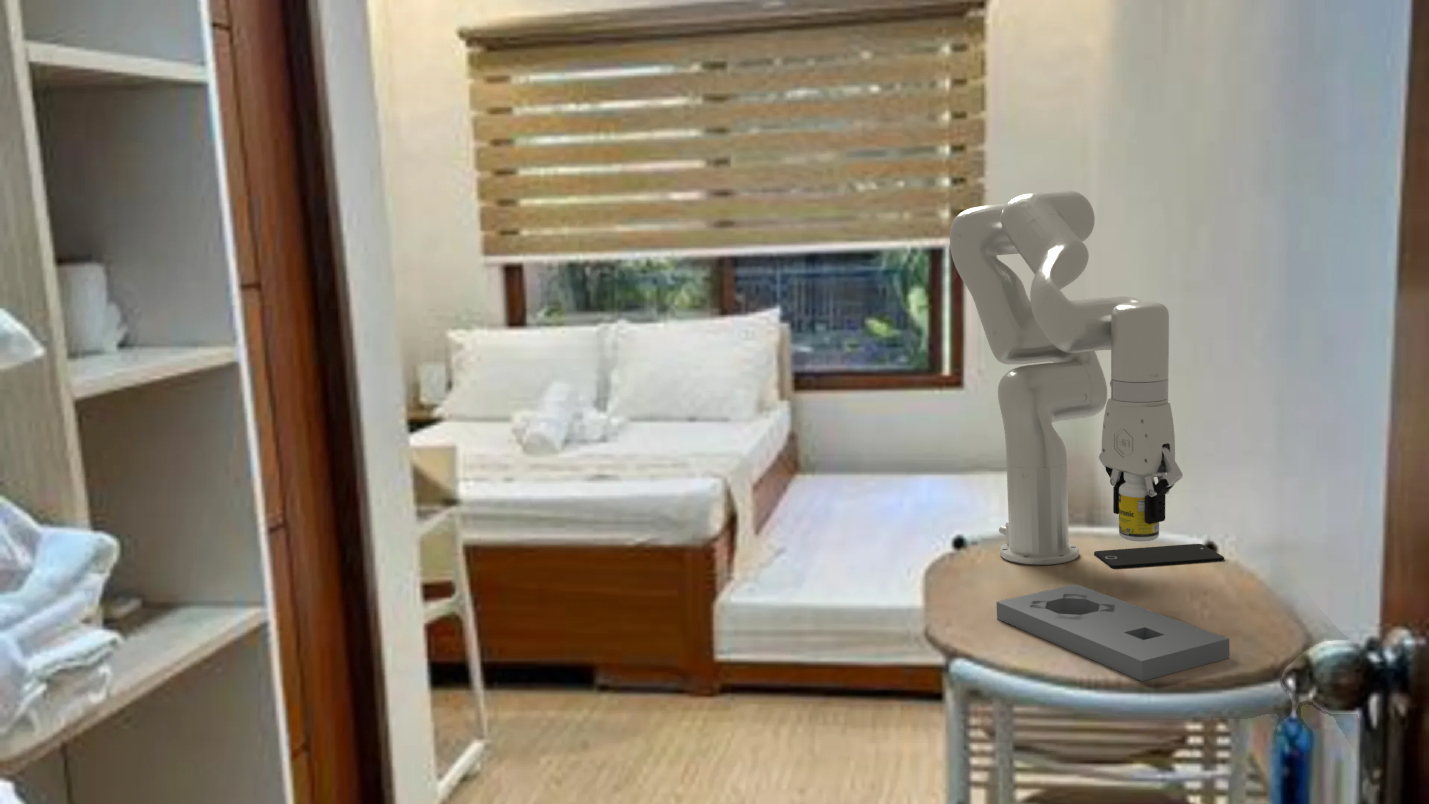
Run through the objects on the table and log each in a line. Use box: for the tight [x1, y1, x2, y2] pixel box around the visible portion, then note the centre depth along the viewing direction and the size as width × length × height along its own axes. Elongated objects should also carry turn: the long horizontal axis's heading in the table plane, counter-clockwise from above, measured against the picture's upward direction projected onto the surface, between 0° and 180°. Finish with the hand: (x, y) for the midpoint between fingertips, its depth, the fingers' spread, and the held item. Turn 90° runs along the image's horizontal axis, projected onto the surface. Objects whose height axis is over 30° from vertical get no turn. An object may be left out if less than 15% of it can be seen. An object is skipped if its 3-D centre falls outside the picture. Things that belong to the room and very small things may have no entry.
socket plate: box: [996, 584, 1230, 682], centre depth 158 cm, size 28×14×2 cm, turn 24°
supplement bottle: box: [1118, 472, 1160, 542], centre depth 170 cm, size 5×5×10 cm
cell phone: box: [1093, 543, 1225, 570], centre depth 193 cm, size 9×18×1 cm, turn 92°
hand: (1138, 515), depth 170 cm, fingers closed on supplement bottle, 5 cm apart
